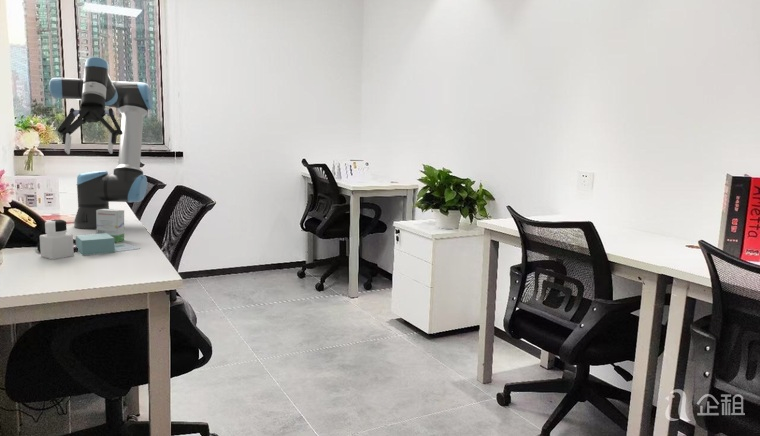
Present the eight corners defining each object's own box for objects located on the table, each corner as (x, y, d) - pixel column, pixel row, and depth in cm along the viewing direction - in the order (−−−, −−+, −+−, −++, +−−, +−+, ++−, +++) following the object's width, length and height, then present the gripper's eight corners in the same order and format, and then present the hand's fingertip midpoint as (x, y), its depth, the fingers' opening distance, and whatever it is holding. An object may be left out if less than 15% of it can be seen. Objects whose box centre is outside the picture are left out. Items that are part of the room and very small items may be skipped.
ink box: (96, 241, 211) (94, 210, 209) (104, 238, 216) (103, 208, 214) (118, 242, 210) (117, 211, 208) (125, 240, 215) (124, 209, 213)
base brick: (76, 249, 196) (75, 235, 195) (107, 246, 202) (106, 233, 201) (82, 255, 188) (81, 240, 187) (114, 252, 194) (114, 237, 193)
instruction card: (103, 245, 203) (103, 245, 203) (125, 243, 209) (125, 242, 209) (117, 251, 195) (117, 251, 195) (140, 248, 201) (140, 248, 201)
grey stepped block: (62, 253, 190) (60, 217, 189) (74, 256, 187) (72, 220, 185) (40, 256, 184) (38, 220, 182) (52, 259, 181) (50, 222, 179)
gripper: (51, 91, 193) (44, 147, 186) (128, 92, 197) (124, 146, 190) (59, 103, 200) (53, 157, 193) (134, 103, 204) (130, 156, 197)
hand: (88, 152), depth 191 cm, fingers open, 13 cm apart
